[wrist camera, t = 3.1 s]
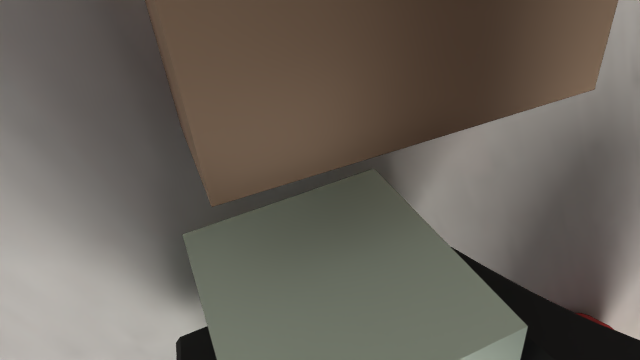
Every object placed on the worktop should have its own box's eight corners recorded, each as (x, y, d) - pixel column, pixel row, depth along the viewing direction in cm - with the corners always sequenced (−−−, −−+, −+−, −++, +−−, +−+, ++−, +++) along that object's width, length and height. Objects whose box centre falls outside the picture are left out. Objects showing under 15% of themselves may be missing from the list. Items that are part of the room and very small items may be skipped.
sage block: (229, 359, 13) (295, 576, 9) (181, 233, 10) (245, 463, 6) (380, 295, 14) (496, 462, 10) (372, 167, 11) (528, 325, 7)
